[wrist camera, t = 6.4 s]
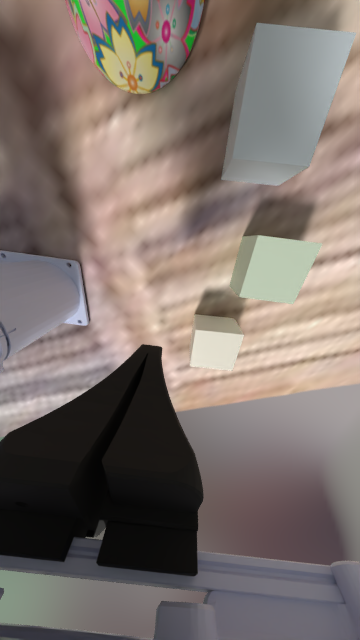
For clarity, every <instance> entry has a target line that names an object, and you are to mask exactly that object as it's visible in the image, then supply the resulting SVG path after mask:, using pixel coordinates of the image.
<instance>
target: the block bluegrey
mask: <svg viewBox="0 0 360 640" xmlns="http://www.w3.org/2000/svg"><path fill="white" fill-rule="evenodd" d="M355 35H356V33H354V32H344V31H334V30H324V29H315V28H305V27H295V26H285V25H275V24H265V23H256V27H255V30H254V33H253V36H252V39H251V43H250V46H249V49H248V52H247V56H246V59H245V62H244V65H243V68H242V72H241V75H240V78H239V81H238V84H237V88H236V92H235V98H234V104H233V110H232V116H231V122H230V128H229V134H228V140H227V147H226V153H225V159H224V165H223V171H222V177H221V180H228V181H238V182H248V183H257V184H267V185H277V186H279V185H280V184H282V183H283V182H285V181H287V180H288V179H290V178H291V177H293V176H295V175H296V174H298V173H299V172H301V171H303V170H304V169H306V168H308V167H309V166H310V163H311V160H312V157H313V154H314V151H315V149H316V146H317V143H318V140H319V137H320V134H321V132H322V129H323V126H324V123H325V120H326V117H327V114H328V112H329V109H330V106H331V103H332V100H333V97H334V95H335V92H336V89H337V86H338V83H339V80H340V78H341V75H342V72H343V69H344V66H345V63H346V61H347V58H348V55H349V52H350V49H351V46H352V44H353V41H354V38H355Z"/></svg>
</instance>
